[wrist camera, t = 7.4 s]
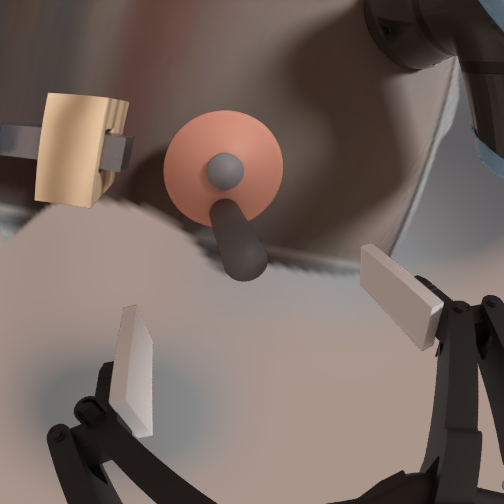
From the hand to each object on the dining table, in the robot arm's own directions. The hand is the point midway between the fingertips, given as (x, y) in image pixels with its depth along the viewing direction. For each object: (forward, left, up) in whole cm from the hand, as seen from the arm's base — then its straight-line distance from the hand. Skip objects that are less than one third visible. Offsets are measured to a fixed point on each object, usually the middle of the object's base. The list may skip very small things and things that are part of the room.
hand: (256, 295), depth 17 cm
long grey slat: (+18, -4, -19) cm, 26 cm away
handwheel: (0, -4, -18) cm, 18 cm away
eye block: (+15, -4, -24) cm, 29 cm away
